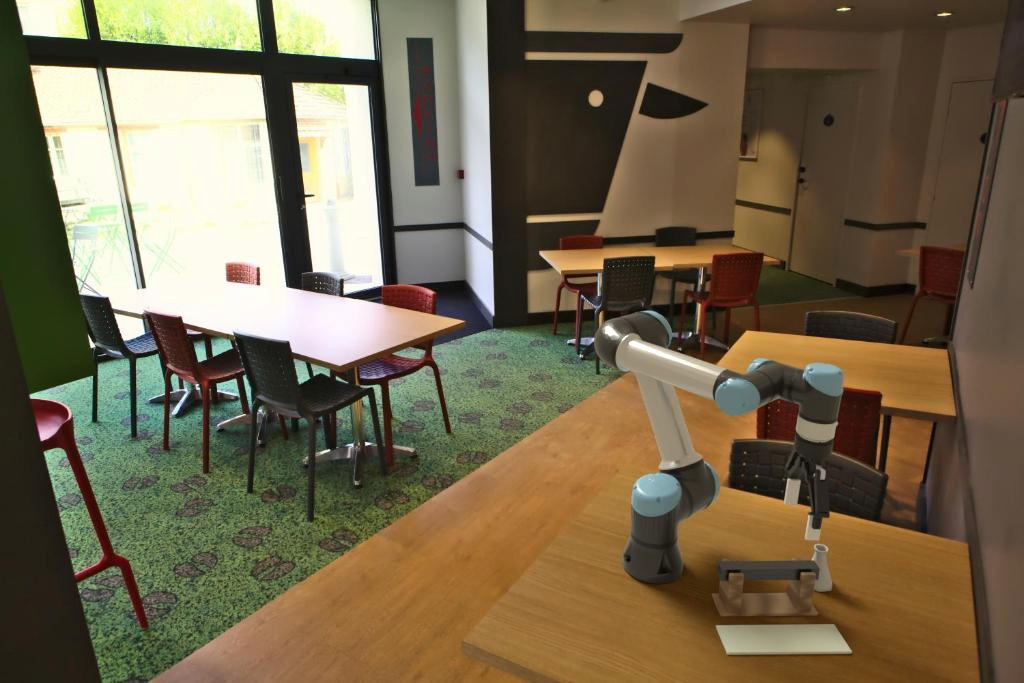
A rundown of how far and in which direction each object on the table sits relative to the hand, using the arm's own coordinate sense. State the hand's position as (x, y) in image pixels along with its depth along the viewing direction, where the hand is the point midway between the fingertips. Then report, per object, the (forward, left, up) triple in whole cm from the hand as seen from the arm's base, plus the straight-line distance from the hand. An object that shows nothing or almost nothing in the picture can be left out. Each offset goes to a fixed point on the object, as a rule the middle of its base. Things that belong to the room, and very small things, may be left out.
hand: (800, 521), depth 145 cm
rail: (-5, -4, -14) cm, 15 cm away
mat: (0, -14, -22) cm, 26 cm away
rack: (-5, -4, -22) cm, 23 cm away
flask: (+4, +10, -22) cm, 25 cm away
